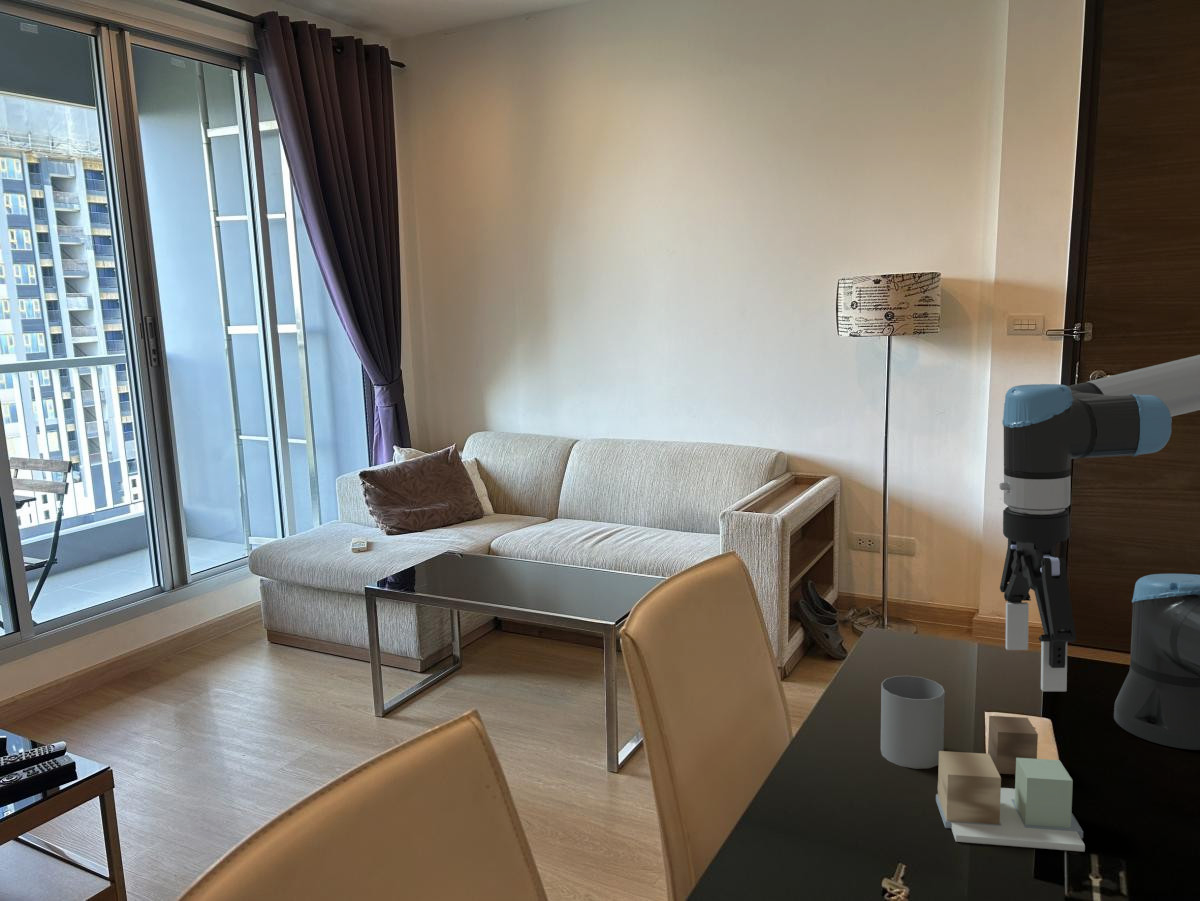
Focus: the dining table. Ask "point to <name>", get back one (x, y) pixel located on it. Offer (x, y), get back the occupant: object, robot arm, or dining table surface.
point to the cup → (912, 721)
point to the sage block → (1043, 792)
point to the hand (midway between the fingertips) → (1034, 668)
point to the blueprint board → (1016, 829)
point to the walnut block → (1011, 742)
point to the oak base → (969, 787)
